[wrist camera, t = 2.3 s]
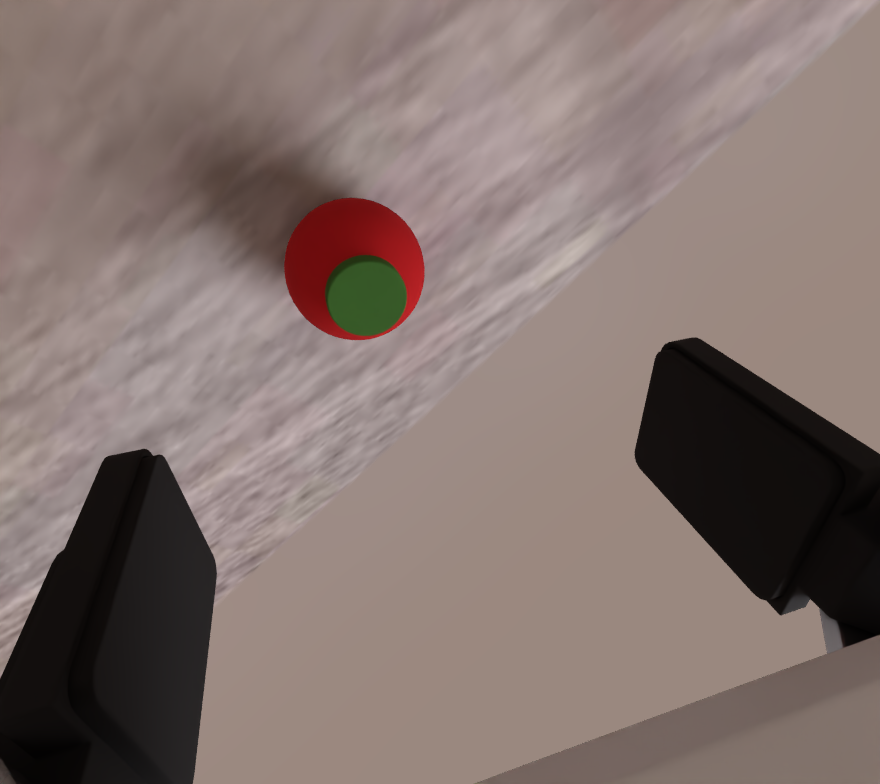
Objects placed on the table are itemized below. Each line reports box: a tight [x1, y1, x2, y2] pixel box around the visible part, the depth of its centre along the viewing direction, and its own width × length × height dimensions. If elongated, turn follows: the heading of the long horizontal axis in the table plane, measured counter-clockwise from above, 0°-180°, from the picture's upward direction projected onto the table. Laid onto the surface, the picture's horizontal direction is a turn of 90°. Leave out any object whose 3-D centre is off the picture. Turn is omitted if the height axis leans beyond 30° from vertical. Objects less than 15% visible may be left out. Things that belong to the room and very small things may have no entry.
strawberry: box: [284, 198, 424, 340], centre depth 17 cm, size 5×5×5 cm
